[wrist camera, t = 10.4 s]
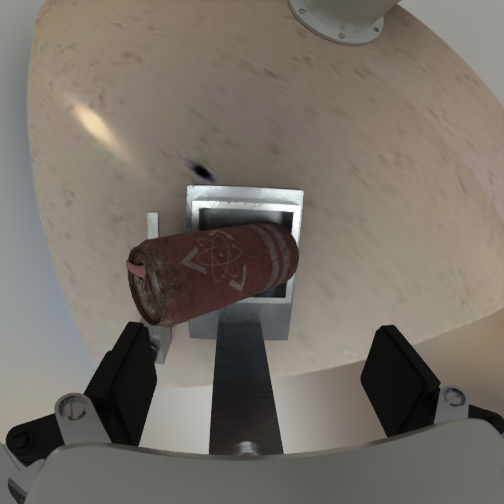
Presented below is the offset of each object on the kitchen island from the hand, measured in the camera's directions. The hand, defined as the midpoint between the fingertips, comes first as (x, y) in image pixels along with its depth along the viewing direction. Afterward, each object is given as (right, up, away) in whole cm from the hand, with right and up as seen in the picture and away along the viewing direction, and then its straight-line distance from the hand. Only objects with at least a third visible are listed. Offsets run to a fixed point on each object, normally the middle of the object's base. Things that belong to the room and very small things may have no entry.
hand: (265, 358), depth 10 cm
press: (-4, +2, +21) cm, 22 cm away
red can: (+2, +4, +17) cm, 18 cm away
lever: (-12, -5, +23) cm, 26 cm away
